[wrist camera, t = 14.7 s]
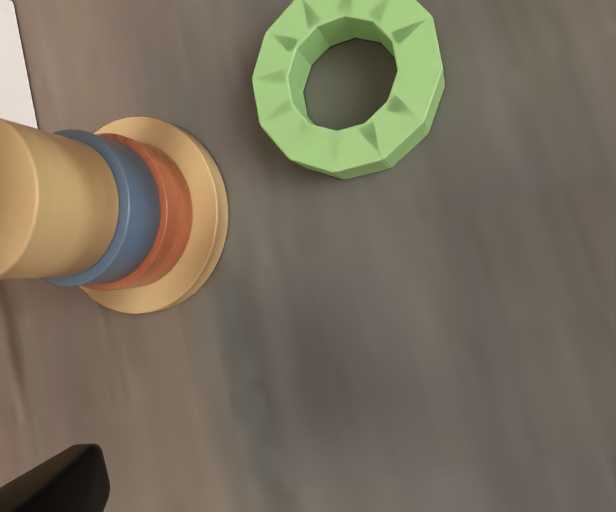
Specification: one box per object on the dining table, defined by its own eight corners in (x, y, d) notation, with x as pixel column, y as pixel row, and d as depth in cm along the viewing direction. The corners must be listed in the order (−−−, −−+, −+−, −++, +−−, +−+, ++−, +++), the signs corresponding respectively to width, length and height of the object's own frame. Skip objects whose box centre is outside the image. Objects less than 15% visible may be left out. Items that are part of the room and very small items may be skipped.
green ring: (469, 18, 17) (469, -9, 15) (405, 198, 18) (399, 193, 16) (301, -11, 19) (285, -37, 17) (251, 151, 20) (231, 142, 18)
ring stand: (253, 148, 20) (6, 26, 9) (197, 340, 21) (-85, 431, 10) (97, 103, 23) (-232, -30, 12) (54, 275, 24) (-286, 293, 13)
